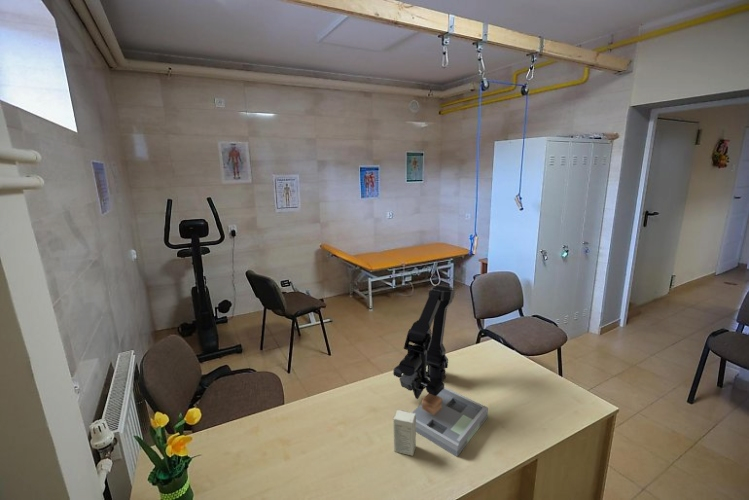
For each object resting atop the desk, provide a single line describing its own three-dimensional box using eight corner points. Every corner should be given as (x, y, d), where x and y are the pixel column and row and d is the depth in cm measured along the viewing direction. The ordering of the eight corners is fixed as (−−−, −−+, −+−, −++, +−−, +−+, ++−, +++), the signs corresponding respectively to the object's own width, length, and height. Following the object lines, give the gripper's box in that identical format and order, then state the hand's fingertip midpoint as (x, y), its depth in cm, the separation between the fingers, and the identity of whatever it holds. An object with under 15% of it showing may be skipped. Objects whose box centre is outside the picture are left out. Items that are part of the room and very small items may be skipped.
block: (421, 408, 123) (422, 399, 122) (429, 401, 127) (429, 392, 126) (434, 415, 120) (434, 405, 119) (441, 407, 123) (441, 398, 122)
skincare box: (416, 445, 110) (417, 413, 106) (412, 456, 106) (413, 423, 102) (396, 440, 112) (397, 408, 108) (392, 451, 108) (393, 418, 104)
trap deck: (404, 424, 118) (404, 412, 117) (437, 393, 134) (438, 381, 133) (456, 456, 105) (457, 443, 104) (487, 417, 121) (488, 405, 120)
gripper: (384, 360, 123) (383, 398, 127) (428, 382, 111) (426, 422, 115) (402, 348, 131) (402, 383, 135) (446, 367, 119) (443, 405, 123)
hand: (417, 398), depth 127 cm, fingers closed
